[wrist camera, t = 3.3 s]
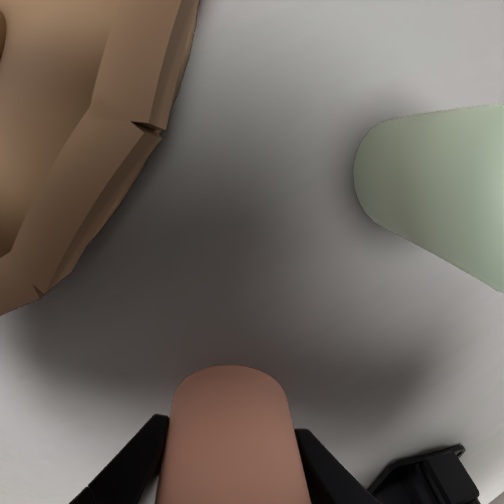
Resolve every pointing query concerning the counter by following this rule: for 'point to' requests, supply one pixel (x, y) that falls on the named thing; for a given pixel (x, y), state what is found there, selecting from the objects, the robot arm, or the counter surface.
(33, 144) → the groove tray
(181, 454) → the bead coral
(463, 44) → the counter surface
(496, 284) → the bead sage
